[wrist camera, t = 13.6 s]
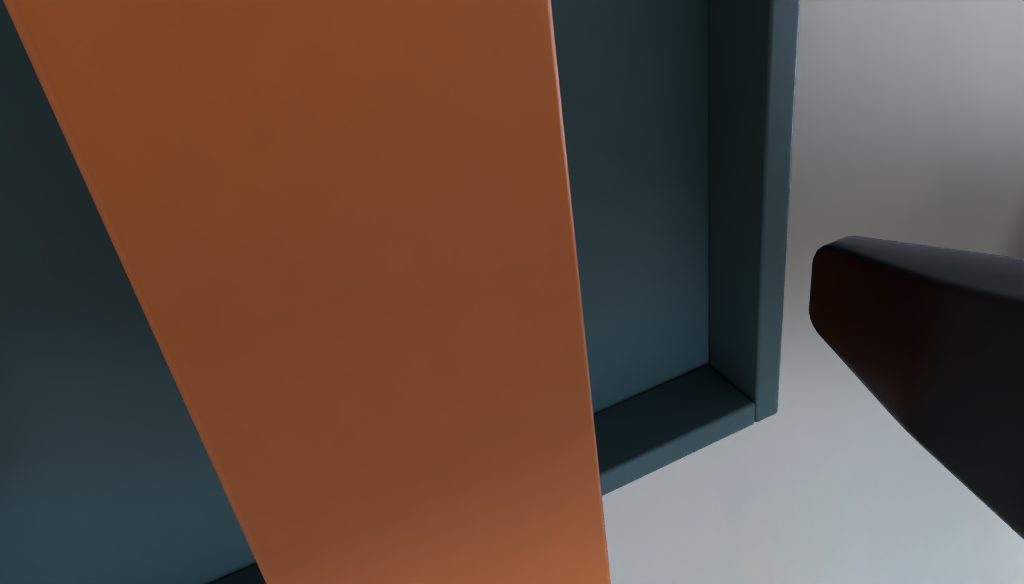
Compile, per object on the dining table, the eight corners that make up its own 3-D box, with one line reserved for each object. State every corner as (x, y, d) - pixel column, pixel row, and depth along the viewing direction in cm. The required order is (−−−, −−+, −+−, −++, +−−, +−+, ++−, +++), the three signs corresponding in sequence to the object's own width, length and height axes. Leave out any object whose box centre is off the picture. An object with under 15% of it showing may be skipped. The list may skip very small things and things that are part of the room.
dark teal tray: (713, -439, 12) (829, -485, 10) (713, 360, 19) (778, 413, 18) (-752, -309, 7) (-1014, -350, 5) (10, 669, 15) (4, 782, 13)
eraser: (355, -194, 11) (534, -204, 7) (476, 405, 16) (614, 595, 12) (-3, -134, 9) (-44, -99, 5) (260, 495, 15) (336, 740, 11)
